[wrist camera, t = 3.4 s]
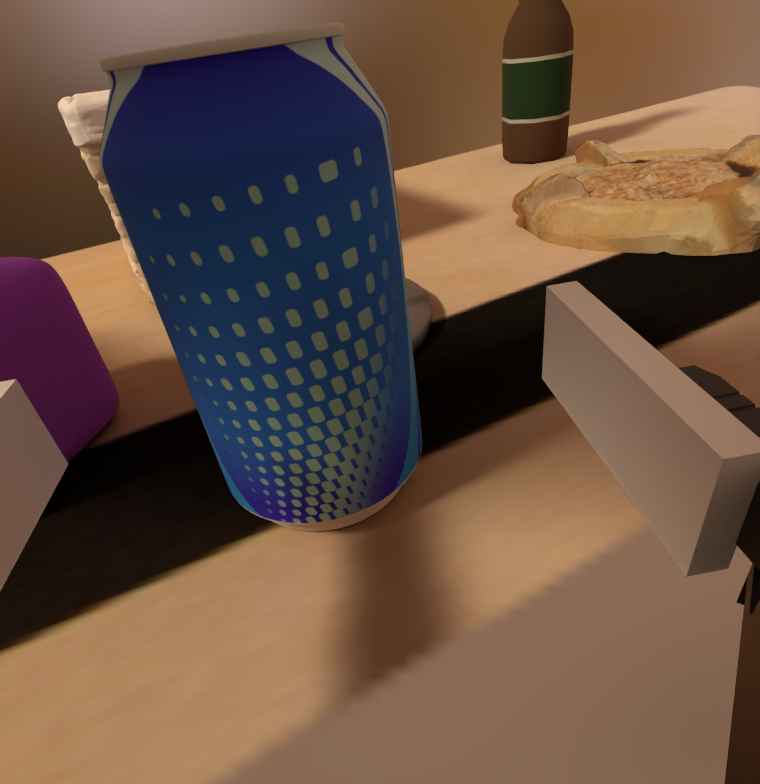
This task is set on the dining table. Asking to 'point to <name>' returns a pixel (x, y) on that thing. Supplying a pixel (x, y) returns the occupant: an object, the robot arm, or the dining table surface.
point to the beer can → (274, 262)
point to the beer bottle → (536, 82)
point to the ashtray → (649, 201)
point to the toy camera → (52, 354)
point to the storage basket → (97, 157)
